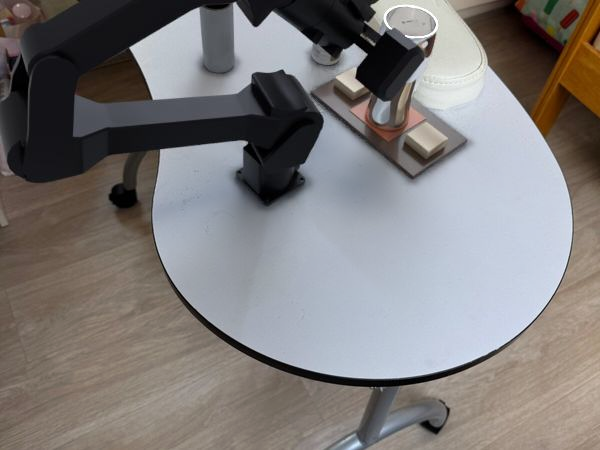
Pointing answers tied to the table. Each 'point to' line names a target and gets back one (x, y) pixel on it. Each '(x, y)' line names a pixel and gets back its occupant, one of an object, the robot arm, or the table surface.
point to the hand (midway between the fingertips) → (375, 55)
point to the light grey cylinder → (217, 37)
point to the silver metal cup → (423, 33)
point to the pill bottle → (323, 56)
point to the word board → (392, 144)
